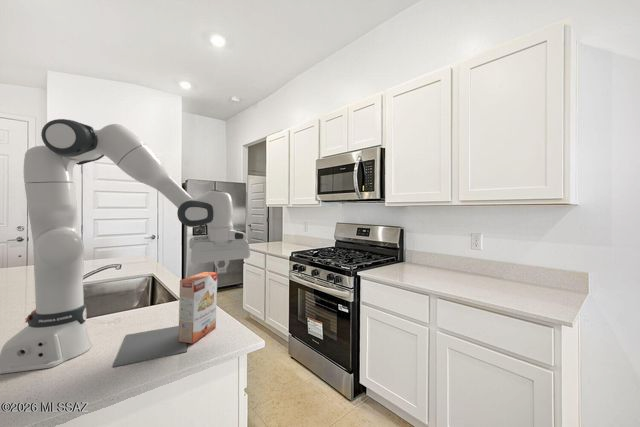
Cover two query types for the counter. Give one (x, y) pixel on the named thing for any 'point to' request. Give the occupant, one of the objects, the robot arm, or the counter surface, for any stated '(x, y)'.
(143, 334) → the mat
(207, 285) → the cracker box
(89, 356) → the counter surface
